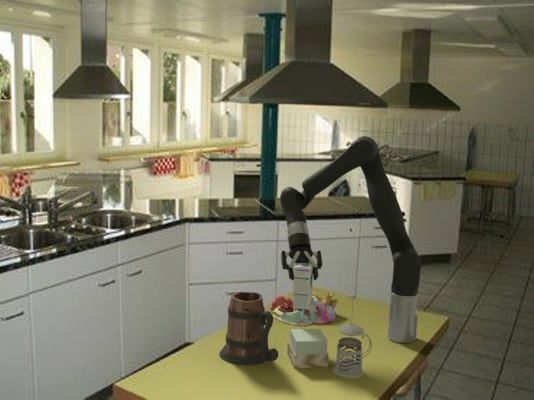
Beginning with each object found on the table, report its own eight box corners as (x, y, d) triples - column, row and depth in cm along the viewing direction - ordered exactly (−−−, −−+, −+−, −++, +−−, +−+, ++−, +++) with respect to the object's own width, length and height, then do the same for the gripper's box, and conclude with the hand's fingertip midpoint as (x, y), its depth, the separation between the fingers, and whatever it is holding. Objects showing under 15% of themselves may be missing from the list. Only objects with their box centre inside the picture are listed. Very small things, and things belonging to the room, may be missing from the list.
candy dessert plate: (297, 301, 246) (298, 280, 244) (346, 314, 232) (347, 292, 230) (262, 317, 226) (262, 294, 224) (313, 332, 212) (314, 308, 210)
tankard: (208, 351, 191) (210, 293, 188) (248, 339, 202) (250, 284, 199) (254, 378, 174) (256, 315, 171) (294, 363, 185) (297, 303, 182)
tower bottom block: (319, 353, 194) (319, 340, 194) (327, 368, 184) (328, 354, 183) (287, 354, 193) (287, 341, 192) (293, 369, 182) (294, 355, 181)
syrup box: (309, 310, 194) (311, 268, 191) (292, 308, 195) (293, 266, 193) (311, 304, 199) (313, 263, 197) (294, 302, 201) (296, 262, 198)
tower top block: (319, 341, 193) (320, 328, 192) (326, 354, 183) (327, 340, 182) (289, 342, 191) (290, 329, 191) (295, 355, 182) (296, 341, 181)
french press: (329, 364, 186) (334, 289, 182) (365, 364, 187) (370, 289, 183) (335, 378, 176) (340, 299, 172) (373, 378, 177) (379, 300, 173)
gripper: (280, 231, 199) (284, 274, 190) (320, 231, 201) (327, 273, 192) (277, 243, 205) (281, 284, 196) (316, 242, 208) (322, 284, 198)
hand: (304, 279), depth 194 cm, fingers closed on syrup box, 7 cm apart
